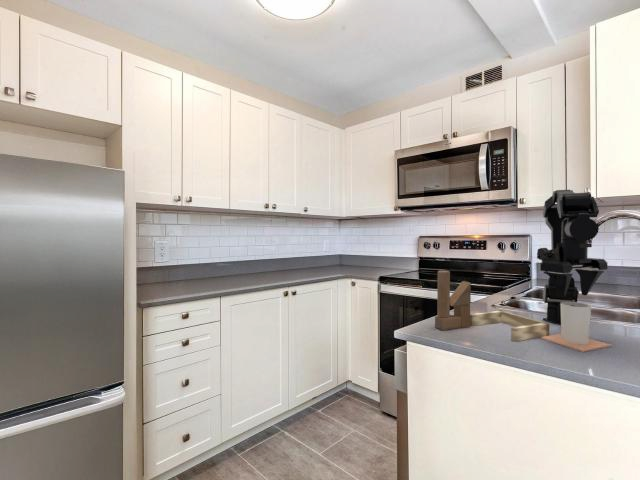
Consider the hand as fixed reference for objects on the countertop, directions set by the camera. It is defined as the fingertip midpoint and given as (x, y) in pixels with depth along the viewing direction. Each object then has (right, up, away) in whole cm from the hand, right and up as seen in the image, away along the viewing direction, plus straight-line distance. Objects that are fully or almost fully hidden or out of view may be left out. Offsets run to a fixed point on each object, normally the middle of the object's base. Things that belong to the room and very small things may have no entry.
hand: (573, 296), depth 92 cm
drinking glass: (0, -12, 0) cm, 12 cm away
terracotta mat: (0, -12, 0) cm, 12 cm away
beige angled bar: (-12, -12, +11) cm, 20 cm away
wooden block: (-27, -12, +14) cm, 33 cm away
